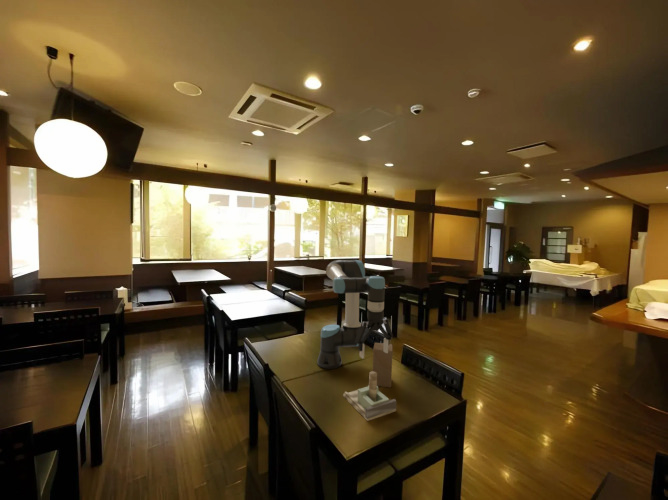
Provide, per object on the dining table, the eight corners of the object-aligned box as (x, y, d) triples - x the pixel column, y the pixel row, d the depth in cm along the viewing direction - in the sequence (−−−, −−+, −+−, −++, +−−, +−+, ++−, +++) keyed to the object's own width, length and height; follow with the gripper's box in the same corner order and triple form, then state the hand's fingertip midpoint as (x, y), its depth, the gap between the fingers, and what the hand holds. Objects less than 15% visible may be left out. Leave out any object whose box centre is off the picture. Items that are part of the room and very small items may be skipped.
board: (343, 395, 140) (343, 386, 139) (369, 388, 147) (369, 379, 147) (367, 421, 121) (367, 409, 121) (395, 411, 129) (396, 400, 128)
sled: (357, 401, 134) (357, 389, 133) (374, 396, 138) (374, 384, 138) (370, 414, 124) (371, 401, 123) (388, 408, 128) (389, 396, 128)
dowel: (367, 401, 132) (367, 372, 131) (373, 399, 134) (374, 370, 133) (371, 405, 129) (372, 375, 128) (377, 403, 130) (378, 374, 130)
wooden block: (391, 388, 148) (392, 351, 147) (372, 385, 150) (373, 349, 149) (391, 378, 158) (392, 343, 157) (373, 376, 160) (374, 342, 159)
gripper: (357, 315, 120) (355, 363, 121) (401, 309, 132) (400, 353, 133) (348, 310, 127) (346, 356, 128) (391, 305, 138) (389, 347, 140)
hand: (373, 354), depth 131 cm, fingers open, 13 cm apart
